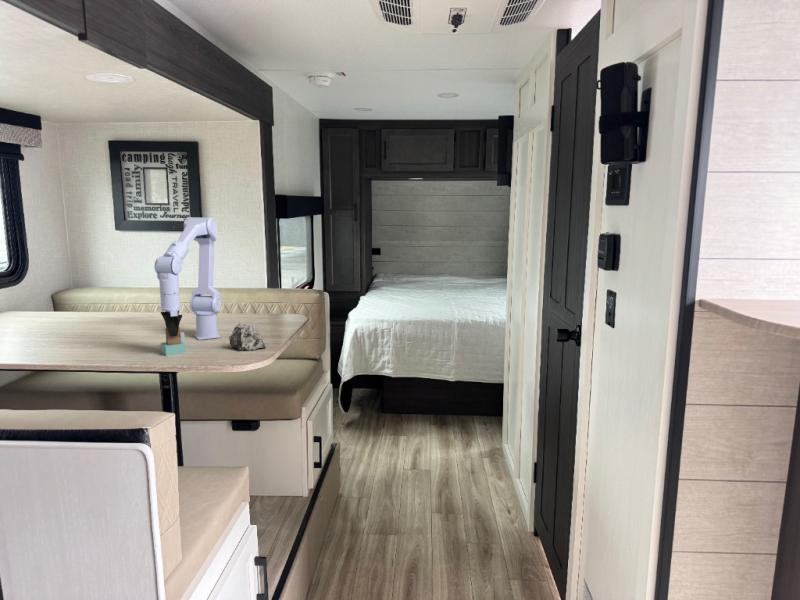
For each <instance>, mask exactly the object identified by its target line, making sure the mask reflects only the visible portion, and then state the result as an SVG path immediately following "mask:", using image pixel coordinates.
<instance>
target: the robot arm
mask: <svg viewBox="0 0 800 600" xmlns="http://www.w3.org/2000/svg"><path fill="white" fill-rule="evenodd" d="M181 232H182V233H181V234H180V236H179V238H178V240H174V241H172V242H171V244H170V245H169V247H168V249H167V250H166V251H165V252H164V254H163V255H162V256H158V257H157V258H156V259H155V262H154V266H153V267H154V272H155V273H156V278H157V280H159V281H158V282H159V292H160V293H159V294H160V295H159V296H160V306H157V308H156V310H157V311H161V312H160V315H161V316H162V318H163V320H164V321H163V322H164V324H165V328H168V330H169V334H170V336H171V337H172V336H177V335H178V329H179V328H180V323H181V320H182V318H183V314H179V313H180V310H181V309H182V306H181V296H180V295H181V294H180V282H179V281H180V280H179V274H180V273H181V272H182V267H183V265H184V264H183V263H184V262H183V260H184V259H185V258H186V256H187V255H188V253H189V246H190V245H191V243H192V242H193V241H195V242H197V243H198V245H199V246H198V247H199V248H198V278H197V279H198V280H197V281H198V282H197V283H198V285H197V287H196V288H195V289H194V290H192V292H191V297H190V301H189V307H190V310H191V311H192V312H193V315H195V325H196V326H195V328H196V332H195V333H194V334H193V335H194V337H195V338H196V340H199V341H201V340H209V339H219V338H221V335H220V334H219V333H218V316H217V314H218V313H219V312H220V310H221V309H222V299H221V292H220V291H218V290H217V289H216V288H214V263H215V262H214V259H215V257H214V255H215V254H214V253H215V242H216V241H217V240H218V223H217V221H216V220H215V218H214V217H212V216H209V217H194V216H193V217H191V216H187V217H186V218H185V220H184V222H183V230H182V231H181Z"/></svg>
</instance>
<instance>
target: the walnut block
mask: <svg viewBox="0 0 800 600" xmlns="http://www.w3.org/2000/svg"><path fill="white" fill-rule="evenodd" d="M164 330H165V342H166V343H167V345H175V344H181V333H180V332H181V328H180V327H179V329H178V335H177V336H172V337H171V336H170V334H169V330H168V328H166V327H165V329H164Z"/></svg>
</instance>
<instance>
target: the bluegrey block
mask: <svg viewBox="0 0 800 600" xmlns="http://www.w3.org/2000/svg"><path fill="white" fill-rule="evenodd" d="M180 333H181V341H182V342H183V343H185V344H186V338H185V337H186V336H185V332H183V331H180Z"/></svg>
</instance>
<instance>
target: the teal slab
mask: <svg viewBox="0 0 800 600" xmlns="http://www.w3.org/2000/svg"><path fill="white" fill-rule="evenodd" d="M160 344H161V353H162V352H163V353H164V354H165V355H166V357H168V356H167V355H171V356H174V355H173V354H178V355H182V354H181V353H185V354H187V353H186V342H185V343H183V342H182V341H181V344H175V345H167V343H166V341H165V342H161V343H160ZM163 353H162V354H163ZM164 354H163V355H164ZM165 355H164V356H165Z"/></svg>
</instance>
